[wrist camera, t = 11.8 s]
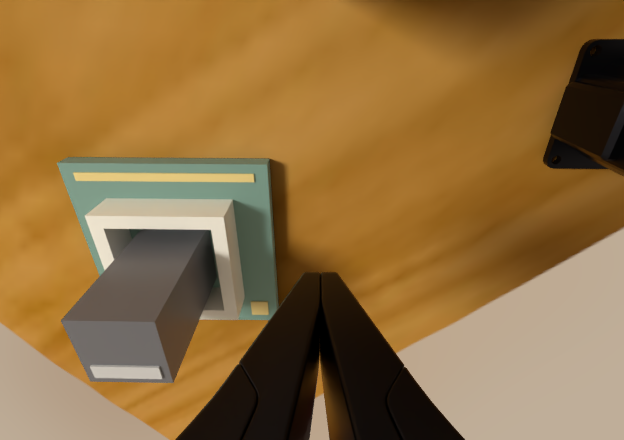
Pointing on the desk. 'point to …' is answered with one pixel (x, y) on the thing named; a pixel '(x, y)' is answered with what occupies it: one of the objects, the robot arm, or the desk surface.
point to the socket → (176, 215)
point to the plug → (144, 307)
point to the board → (191, 185)
